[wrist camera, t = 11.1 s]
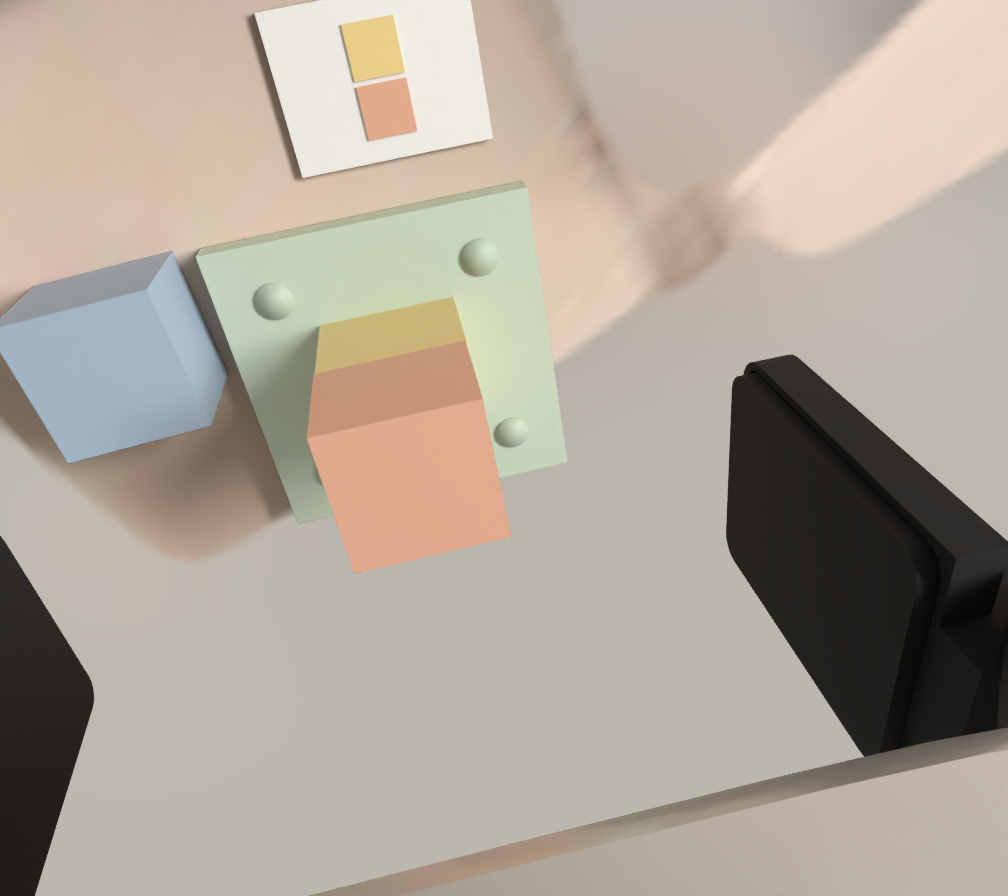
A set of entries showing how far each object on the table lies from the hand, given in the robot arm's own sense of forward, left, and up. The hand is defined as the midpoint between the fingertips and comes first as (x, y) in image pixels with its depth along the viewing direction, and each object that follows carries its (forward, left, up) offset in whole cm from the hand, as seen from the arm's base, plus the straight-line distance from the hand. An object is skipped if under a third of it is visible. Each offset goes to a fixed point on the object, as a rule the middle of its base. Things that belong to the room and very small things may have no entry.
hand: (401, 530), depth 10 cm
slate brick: (+5, -12, -26) cm, 29 cm away
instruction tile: (-3, +1, -26) cm, 26 cm away
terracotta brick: (+9, -1, -20) cm, 22 cm away
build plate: (+9, -1, -26) cm, 28 cm away
